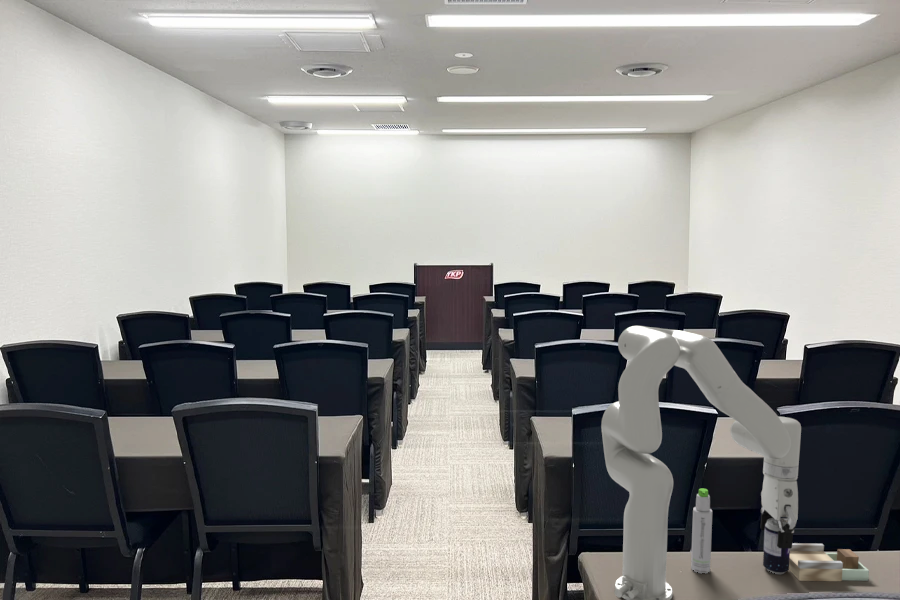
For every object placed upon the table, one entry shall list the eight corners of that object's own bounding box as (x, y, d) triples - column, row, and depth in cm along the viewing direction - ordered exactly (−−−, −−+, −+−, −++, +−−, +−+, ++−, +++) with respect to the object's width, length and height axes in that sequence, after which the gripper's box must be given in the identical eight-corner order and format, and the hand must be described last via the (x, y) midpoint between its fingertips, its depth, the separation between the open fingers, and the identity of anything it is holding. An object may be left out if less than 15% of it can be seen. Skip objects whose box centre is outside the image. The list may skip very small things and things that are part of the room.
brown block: (845, 556, 168) (858, 557, 168) (837, 549, 172) (850, 549, 172) (844, 572, 168) (857, 573, 168) (836, 564, 172) (849, 565, 172)
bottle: (688, 570, 171) (691, 490, 169) (694, 563, 174) (697, 485, 172) (706, 575, 168) (710, 494, 166) (712, 568, 172) (715, 489, 170)
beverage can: (791, 577, 167) (794, 528, 166) (765, 574, 169) (768, 526, 167) (785, 565, 173) (787, 518, 172) (760, 563, 174) (762, 516, 173)
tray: (840, 580, 166) (841, 569, 166) (822, 562, 175) (822, 552, 174) (868, 580, 166) (868, 570, 165) (848, 562, 174) (849, 552, 174)
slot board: (799, 580, 166) (800, 562, 165) (780, 560, 176) (781, 543, 175) (841, 581, 165) (842, 562, 165) (821, 561, 175) (822, 543, 175)
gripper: (813, 483, 159) (808, 555, 161) (780, 458, 177) (776, 524, 178) (779, 481, 160) (774, 554, 161) (750, 457, 177) (746, 523, 179)
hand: (775, 538), depth 170 cm, fingers open, 9 cm apart
